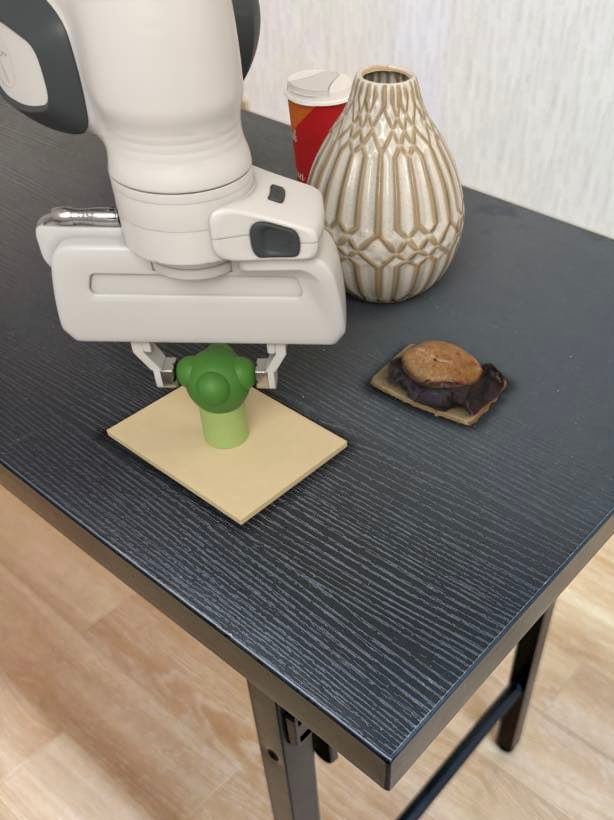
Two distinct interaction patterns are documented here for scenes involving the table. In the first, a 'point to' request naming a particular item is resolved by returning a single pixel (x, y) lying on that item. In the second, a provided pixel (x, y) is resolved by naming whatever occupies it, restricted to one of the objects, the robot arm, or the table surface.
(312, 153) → the paper cup
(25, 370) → the table surface
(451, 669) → the table surface
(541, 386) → the table surface
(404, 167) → the vase
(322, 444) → the mat
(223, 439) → the broccoli
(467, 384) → the brown round-topped food
